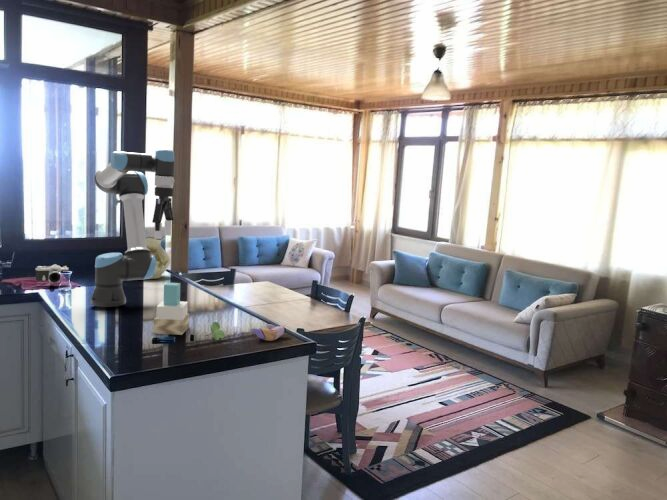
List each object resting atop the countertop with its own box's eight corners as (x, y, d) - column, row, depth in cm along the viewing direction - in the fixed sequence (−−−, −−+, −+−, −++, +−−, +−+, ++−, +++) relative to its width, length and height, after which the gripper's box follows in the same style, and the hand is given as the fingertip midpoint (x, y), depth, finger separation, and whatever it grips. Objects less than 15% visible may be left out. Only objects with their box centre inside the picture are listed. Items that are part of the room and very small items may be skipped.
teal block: (163, 305, 210) (163, 284, 209) (167, 302, 215) (167, 282, 214) (176, 305, 210) (176, 285, 209) (179, 302, 215) (180, 283, 214)
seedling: (212, 348, 209) (225, 342, 206) (197, 341, 203) (209, 334, 201) (213, 333, 213) (225, 326, 211) (198, 324, 208) (211, 318, 206)
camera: (34, 284, 281) (34, 265, 279) (35, 280, 288) (35, 262, 287) (68, 283, 288) (68, 264, 286) (68, 280, 295) (68, 262, 294)
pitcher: (162, 281, 307) (163, 238, 304) (121, 279, 307) (121, 235, 304) (174, 275, 330) (175, 234, 326) (135, 272, 330) (136, 232, 327)
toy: (247, 323, 209) (279, 321, 219) (246, 339, 209) (279, 336, 219) (258, 327, 202) (292, 324, 211) (258, 343, 202) (292, 340, 211)
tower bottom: (153, 333, 209) (153, 318, 208) (161, 326, 219) (162, 312, 219) (182, 335, 209) (182, 320, 208) (188, 327, 220) (189, 313, 219)
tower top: (156, 319, 208) (156, 306, 207) (162, 312, 218) (162, 300, 217) (182, 320, 209) (183, 307, 208) (187, 313, 219) (187, 301, 218)
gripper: (164, 187, 214) (162, 240, 217) (181, 187, 239) (179, 234, 242) (145, 186, 214) (144, 239, 217) (164, 186, 239) (163, 233, 242)
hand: (162, 237), depth 229 cm, fingers open, 13 cm apart
